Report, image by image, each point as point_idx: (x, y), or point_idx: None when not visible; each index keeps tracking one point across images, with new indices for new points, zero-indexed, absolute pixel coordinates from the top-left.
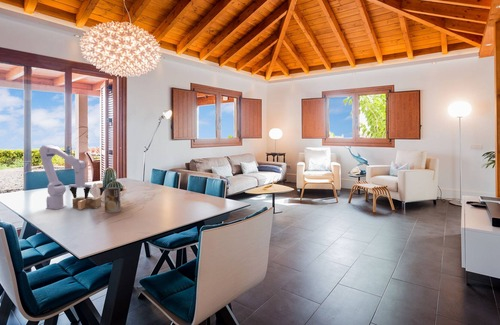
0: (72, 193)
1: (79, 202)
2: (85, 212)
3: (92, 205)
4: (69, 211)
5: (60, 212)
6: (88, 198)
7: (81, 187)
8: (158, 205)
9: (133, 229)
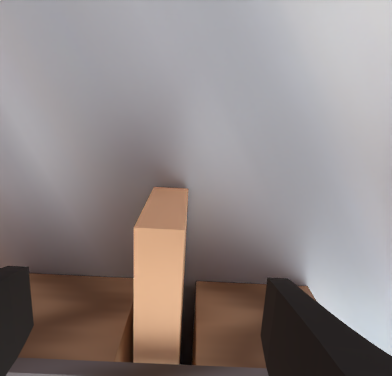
0: (361, 345)
1: (159, 222)
2: (15, 48)
3: (49, 293)
4: (256, 99)
5: (349, 40)
6: (63, 373)
7: None
8: None
9: None
